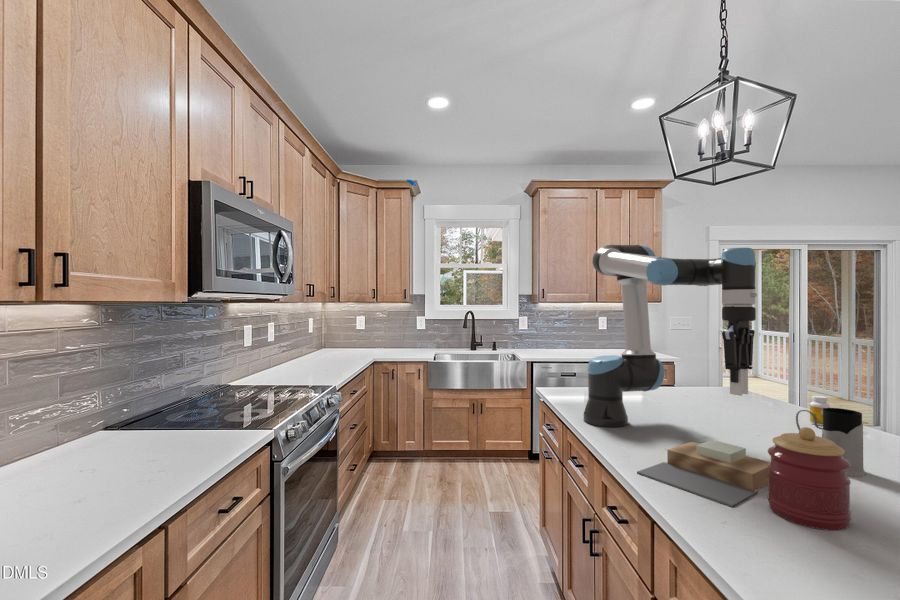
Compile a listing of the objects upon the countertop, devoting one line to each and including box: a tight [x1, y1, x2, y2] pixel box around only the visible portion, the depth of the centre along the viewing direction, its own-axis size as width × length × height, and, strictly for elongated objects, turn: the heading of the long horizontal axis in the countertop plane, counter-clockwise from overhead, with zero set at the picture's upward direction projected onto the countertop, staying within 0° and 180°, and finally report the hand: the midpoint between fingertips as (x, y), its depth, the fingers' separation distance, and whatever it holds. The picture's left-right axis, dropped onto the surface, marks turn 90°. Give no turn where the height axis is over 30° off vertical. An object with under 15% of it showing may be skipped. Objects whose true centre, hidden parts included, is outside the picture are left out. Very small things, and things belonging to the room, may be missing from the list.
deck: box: [666, 441, 771, 491], centre depth 111 cm, size 20×12×4 cm, turn 33°
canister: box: [767, 426, 852, 531], centre depth 88 cm, size 13×13×18 cm
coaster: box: [697, 439, 747, 463], centre depth 111 cm, size 8×8×2 cm
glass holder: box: [795, 407, 867, 478], centre depth 115 cm, size 9×14×15 cm, turn 32°
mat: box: [636, 461, 759, 508], centre depth 104 cm, size 22×12×1 cm, turn 33°
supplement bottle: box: [809, 395, 831, 427], centre depth 154 cm, size 5×5×10 cm
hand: (739, 393), depth 117 cm, fingers open, 3 cm apart
